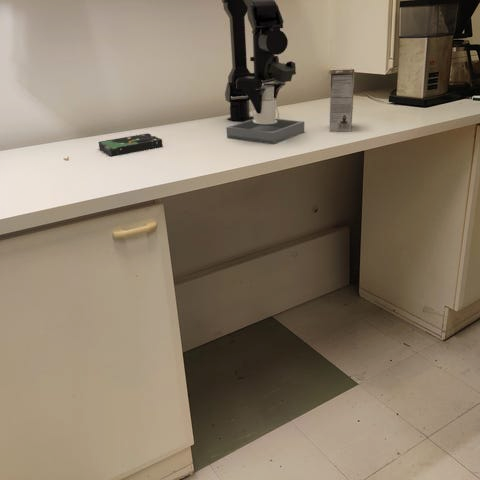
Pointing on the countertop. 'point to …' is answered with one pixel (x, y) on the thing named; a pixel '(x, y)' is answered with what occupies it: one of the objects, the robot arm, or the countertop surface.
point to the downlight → (266, 107)
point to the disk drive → (130, 144)
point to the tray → (265, 131)
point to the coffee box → (341, 100)
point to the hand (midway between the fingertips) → (265, 111)
